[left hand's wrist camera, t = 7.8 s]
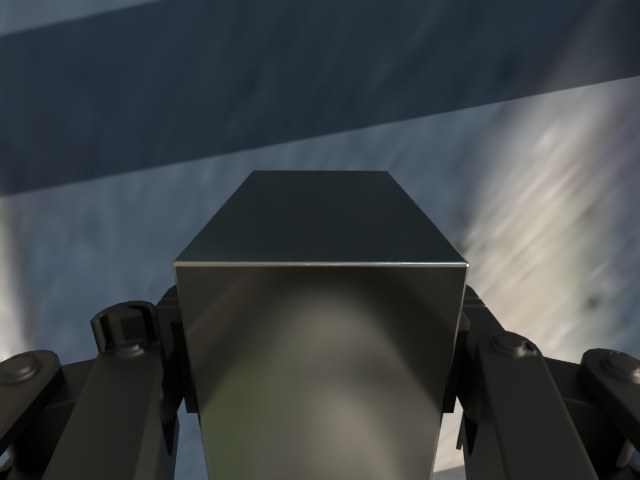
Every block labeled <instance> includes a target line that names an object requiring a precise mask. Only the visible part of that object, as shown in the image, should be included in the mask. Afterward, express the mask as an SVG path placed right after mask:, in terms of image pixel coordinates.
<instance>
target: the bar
mask: <svg viewBox="0 0 640 480" xmlns="http://www.w3.org/2000/svg"><path fill="white" fill-rule="evenodd" d="M173 269H174V275H175V281H176V287H177V293H178V299H179V305H180V311H181V317H182V323H183V329H184V335H185V341H186V347H187V353H188V359H189V365H190V371H191V377H192V383H193V389H194V395H195V401H196V407H197V413H198V419H199V425H200V431H201V437H202V443H203V449H204V455H205V461H206V467H207V473H208V478H209V480H431V479H432V474H433V468H434V462H435V457H436V451H437V445H438V440H439V434H440V428H441V423H442V417H443V411H444V406H445V400H446V394H447V389H448V383H449V377H450V372H451V366H452V361H453V355H454V349H455V344H456V338H457V332H458V327H459V321H460V315H461V310H462V304H463V298H464V293H465V287H466V281H467V276H468V270H469V263H468V261H467V260H466V259H465V258H464V257H463V256H462V255H461V254H460V252H459V251H458V250H457V249H456V248H455V247H454V246H453V245H452V243H451V242H450V241H449V240H448V239H447V238H446V237H445V236H444V234H443V233H442V232H441V231H440V230H439V229H438V228H437V227H436V225H435V224H434V223H433V222H432V221H431V220H430V219H429V218H428V216H427V215H426V214H425V213H424V212H423V211H422V210H421V209H420V207H419V206H418V205H417V204H416V203H415V202H414V201H413V200H412V198H411V197H410V196H409V195H408V194H407V193H406V192H405V191H404V189H403V188H402V187H401V186H400V185H399V184H398V183H397V181H396V180H395V179H394V178H393V177H392V176H391V175H390V174H389V172H388V171H266V170H254V171H253V172H252V173H251V174H250V175H249V176H248V177H247V178H246V180H245V181H244V182H243V183H242V184H241V185H240V186H239V188H238V189H237V190H236V191H235V192H234V193H233V194H232V196H231V197H230V198H229V199H228V200H227V201H226V202H225V204H224V205H223V206H222V207H221V208H220V209H219V210H218V212H217V213H216V214H215V215H214V216H213V217H212V218H211V220H210V221H209V222H208V223H207V224H206V225H205V226H204V228H203V229H202V230H201V231H200V232H199V233H198V234H197V236H196V237H195V238H194V239H193V240H192V241H191V242H190V244H189V245H188V246H187V247H186V248H185V249H184V250H183V252H182V253H181V254H180V255H179V256H178V257H177V259H176V260H175V261H174V263H173Z"/></svg>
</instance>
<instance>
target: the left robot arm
mask: <svg viewBox="0 0 640 480" xmlns="http://www.w3.org/2000/svg"><path fill="white" fill-rule="evenodd" d="M161 299H162V300H160V301H159V302H158V304H157V305H156V306H155V305H153V304H152V303H150V302H146V301H128V302H124V303H119V304H116V305H113V306H111V307H108V308H106V309H104V310H103V311H101V312H99V313H98V314H96V315H95V316H94V317H93V319H92V320H91V321H90V323H91V326H92V330H93V333H94V337H95V340H96V344H97V347H98V351H99V354H98V356H97V358H95V359H91V360H87V361H82V362H77V363H72V364H67V365H62V366H61V364H60V361H59V358H58V355H57V354H55V353H54V352H53V351H48V350H36V351H29V352H24V353H22V354H18V355H15V356H12V357H11V358H9V359H7V360H5V361H3V362H1V363H0V456H1V455H2V454H3V453H4V452H5V451H6V450H7V452H8V454H9V456H10V458H9V459H8V460H7V461H6V463H5V464H4V465H3V466H2V467H0V480H174V473H175V464H176V454H177V445H178V436H179V427H180V426H179V420H178V415H177V411H178V408H179V406H180V404H181V402H182V400H183V397H184V400H185V405H186V410H187V413H197V407H196V401H195V395H194V389H193V383H192V377H191V371H190V365H189V359H188V353H187V347H186V341H185V335H184V329H183V323H182V317H181V311H180V305H179V299H178V293H177V287H176V285H174V286H173V287H171V288H170V289H168V291H167V292H166V293H165V295H164V296H163V297H162V298H161ZM456 396H457V397H458V399H459V401H460V404H461V406H462V408H463V415H462V420H461V425H460V430H459V435H458V440H457V446H456V449H459V450H461V447H462V444H463V453H464V463H465V472H466V480H640V465H639V464H638V463H637V462H636V461H635V460H634V459H633V457H632V456H631V455H632V453H633V451H634V449H636V450H637V451H638V452H639V453H640V360H638V359H636V358H633V357H631V356H630V355H628V354H625V353H622V352H619V351H615V350H609V349H601V348H597V349H589V350H588V351H586V352H585V353H584V354H583V356H582V359H581V362H580V364H576V363H571V362H566V361H561V360H556V359H551V358H548V357H544V356H543V355H542V353H541V351H540V350H539V349H538V347H537V346H536V345H535V344H534V343H532V342H531V341H530V340H528V339H527V338H525V337H523V336H521V335H518V334H516V333H513V332H509V331H505V330H504V328H503V327H502V326H501V325H500V323H499V322H498V321H497V319H496V318H495V317H494V316H493V314H492V313H491V312H490V310H489V309H488V308H487V307H485V304H484V303H483V302H482V300H481V299H479V296H478V295H477V294H476V293H475V291H474V290H473V289H472V288H471V287H470V286H468V285H466V287H465V293H464V298H463V304H462V310H461V315H460V321H459V327H458V332H457V338H456V344H455V349H454V355H453V361H452V366H451V372H450V377H449V383H448V389H447V394H446V400H445V406H444V411H443V413H453V412H454V407H455V402H456Z"/></svg>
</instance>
